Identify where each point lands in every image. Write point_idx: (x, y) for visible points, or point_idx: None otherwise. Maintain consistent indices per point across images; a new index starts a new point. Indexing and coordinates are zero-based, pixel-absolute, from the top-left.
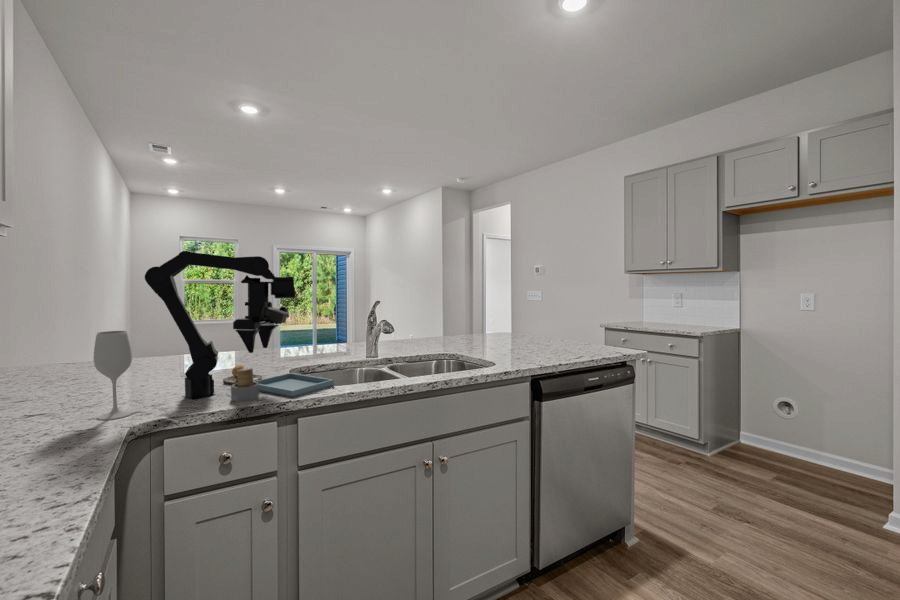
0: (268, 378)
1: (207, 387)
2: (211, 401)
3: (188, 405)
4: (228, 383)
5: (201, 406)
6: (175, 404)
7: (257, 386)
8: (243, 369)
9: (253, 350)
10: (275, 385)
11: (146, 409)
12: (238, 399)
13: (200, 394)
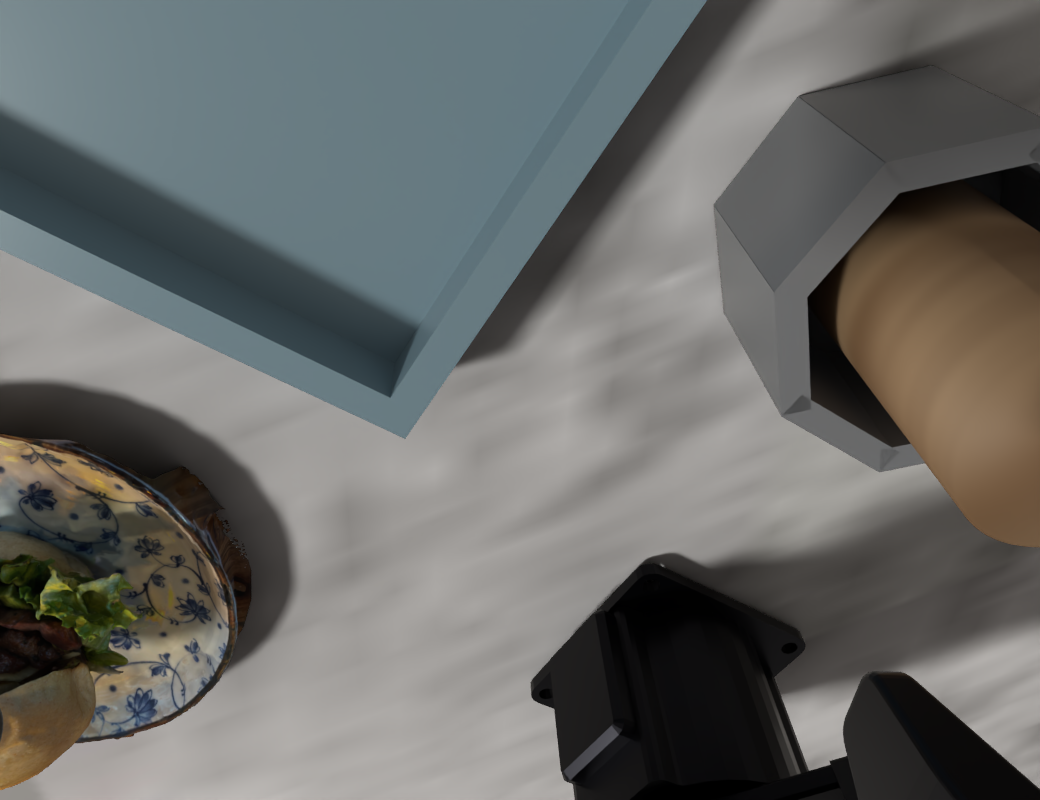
0: (116, 266)
1: (722, 677)
2: (814, 524)
3: (900, 622)
4: (220, 648)
5: (970, 526)
6: (840, 706)
7: (1038, 118)
8: (1021, 487)
9: (906, 706)
10: (271, 72)
11: None
12: None
13: (757, 658)
